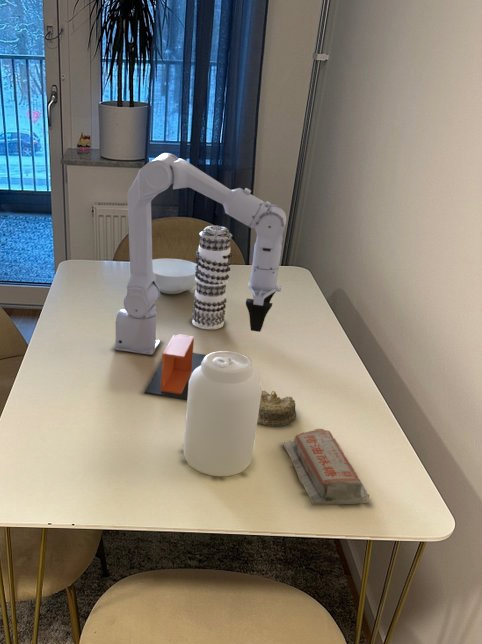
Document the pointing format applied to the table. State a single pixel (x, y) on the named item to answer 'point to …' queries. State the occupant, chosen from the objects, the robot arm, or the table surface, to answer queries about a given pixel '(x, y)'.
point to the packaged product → (325, 469)
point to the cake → (276, 410)
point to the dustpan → (177, 363)
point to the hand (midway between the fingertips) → (257, 324)
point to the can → (222, 414)
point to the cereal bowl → (174, 275)
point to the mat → (155, 383)
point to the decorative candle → (211, 277)
